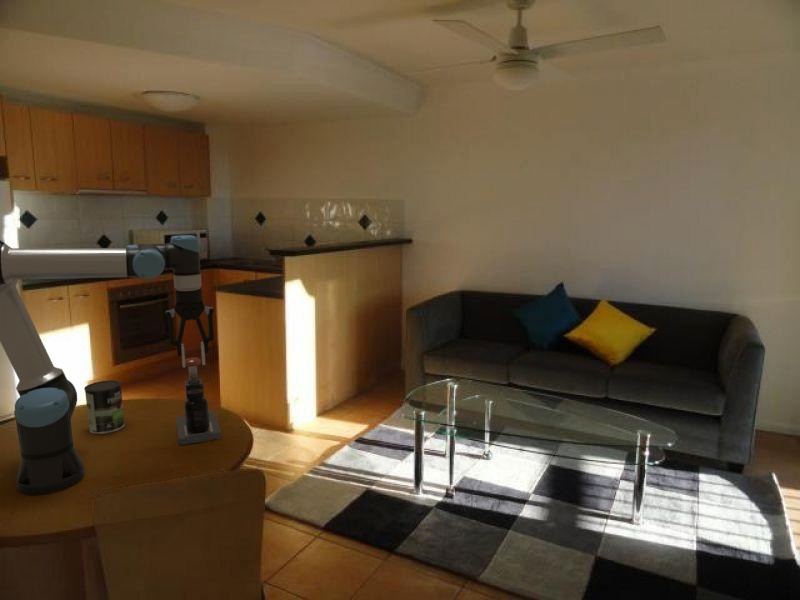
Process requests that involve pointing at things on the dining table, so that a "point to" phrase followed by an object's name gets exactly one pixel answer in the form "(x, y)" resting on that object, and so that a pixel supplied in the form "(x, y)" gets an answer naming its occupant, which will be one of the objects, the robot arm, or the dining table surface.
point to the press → (196, 437)
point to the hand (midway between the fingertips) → (193, 364)
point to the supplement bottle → (196, 411)
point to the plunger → (193, 368)
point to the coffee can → (104, 407)
